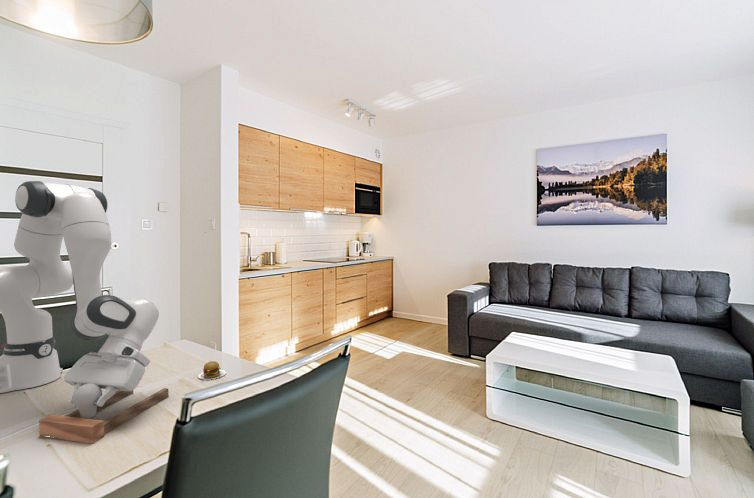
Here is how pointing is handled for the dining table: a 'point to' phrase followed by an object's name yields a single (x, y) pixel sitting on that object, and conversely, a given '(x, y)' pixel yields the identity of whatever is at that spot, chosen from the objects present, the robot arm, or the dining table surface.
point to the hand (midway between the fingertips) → (85, 404)
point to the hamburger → (211, 370)
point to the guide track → (93, 429)
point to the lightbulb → (86, 400)
